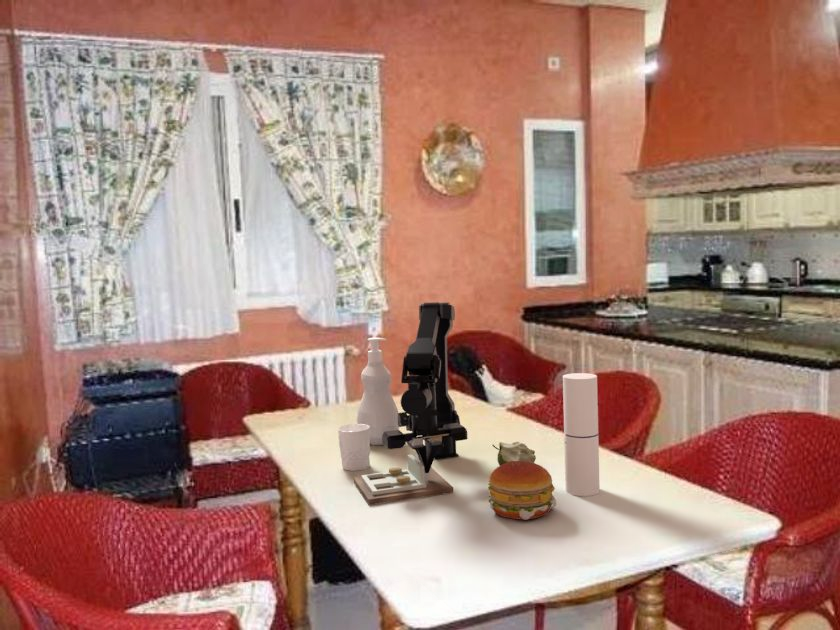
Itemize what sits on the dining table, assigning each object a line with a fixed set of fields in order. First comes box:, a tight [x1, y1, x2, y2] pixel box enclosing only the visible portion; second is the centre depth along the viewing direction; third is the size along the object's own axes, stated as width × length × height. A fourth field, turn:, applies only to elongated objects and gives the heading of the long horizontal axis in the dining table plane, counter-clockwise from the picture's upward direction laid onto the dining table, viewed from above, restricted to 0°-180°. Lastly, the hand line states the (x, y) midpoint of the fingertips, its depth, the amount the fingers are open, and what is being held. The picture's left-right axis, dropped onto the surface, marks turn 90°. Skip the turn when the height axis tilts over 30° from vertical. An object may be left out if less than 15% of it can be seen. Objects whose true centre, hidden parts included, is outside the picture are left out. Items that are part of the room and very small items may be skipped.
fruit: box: [492, 441, 537, 466], centre depth 170 cm, size 9×9×8 cm
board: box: [352, 466, 454, 506], centre depth 161 cm, size 19×16×3 cm
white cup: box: [337, 423, 371, 472], centre depth 177 cm, size 8×8×10 cm
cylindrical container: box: [562, 372, 601, 497], centre depth 152 cm, size 7×7×25 cm
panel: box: [360, 454, 426, 495], centre depth 160 cm, size 12×12×4 cm
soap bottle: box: [356, 337, 400, 446], centre depth 200 cm, size 17×12×29 cm
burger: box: [487, 461, 557, 520], centre depth 143 cm, size 14×14×10 cm
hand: (426, 472), depth 162 cm, fingers closed
